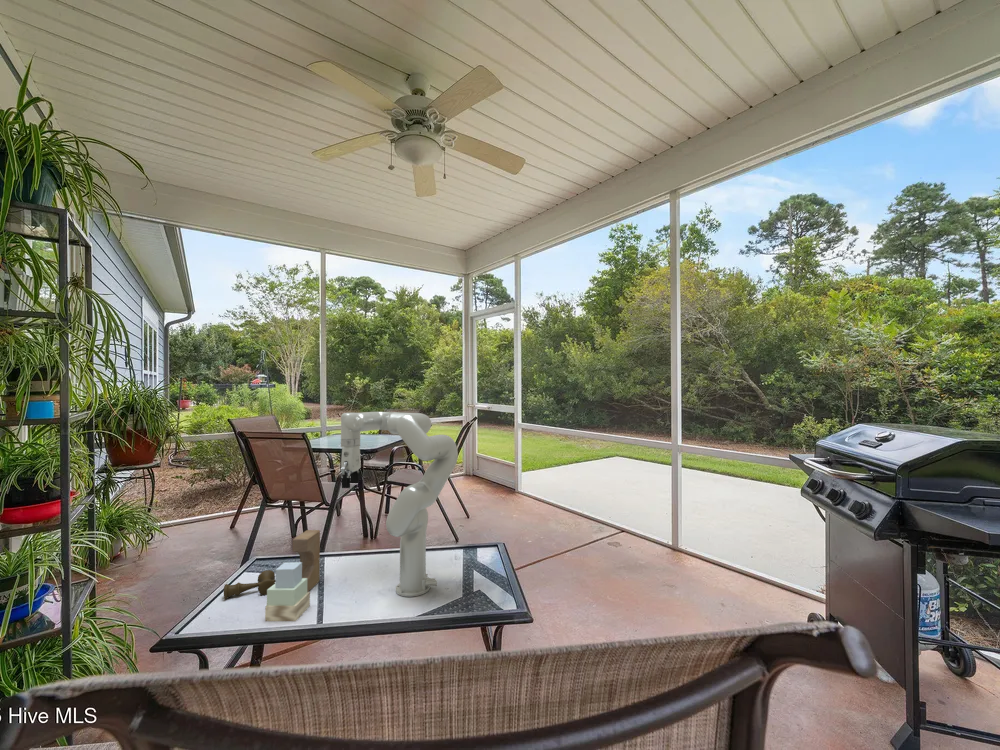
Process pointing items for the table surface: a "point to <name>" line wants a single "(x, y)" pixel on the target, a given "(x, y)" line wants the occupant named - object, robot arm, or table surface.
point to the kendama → (252, 585)
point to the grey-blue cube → (288, 575)
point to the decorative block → (309, 555)
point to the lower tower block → (287, 610)
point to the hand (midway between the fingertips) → (350, 485)
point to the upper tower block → (286, 594)
